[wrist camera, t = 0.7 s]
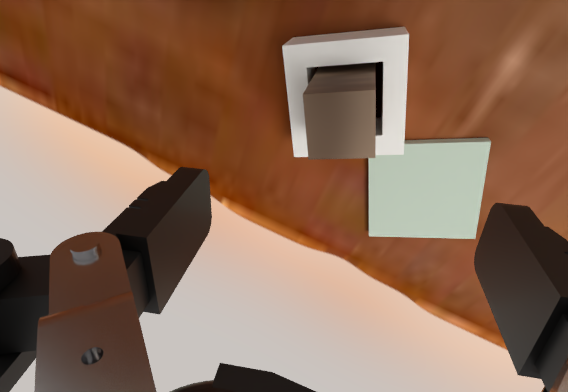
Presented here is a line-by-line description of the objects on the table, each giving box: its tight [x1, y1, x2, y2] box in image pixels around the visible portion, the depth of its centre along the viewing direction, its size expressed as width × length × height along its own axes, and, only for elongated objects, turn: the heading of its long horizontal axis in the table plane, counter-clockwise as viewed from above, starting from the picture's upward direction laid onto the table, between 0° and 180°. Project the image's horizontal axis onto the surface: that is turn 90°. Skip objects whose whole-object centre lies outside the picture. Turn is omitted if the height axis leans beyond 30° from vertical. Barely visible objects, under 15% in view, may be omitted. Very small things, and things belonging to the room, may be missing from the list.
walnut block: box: [303, 62, 376, 159], centre depth 26 cm, size 4×4×9 cm
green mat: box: [369, 138, 491, 239], centre depth 32 cm, size 9×9×1 cm
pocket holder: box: [282, 27, 409, 157], centre depth 28 cm, size 8×8×4 cm
